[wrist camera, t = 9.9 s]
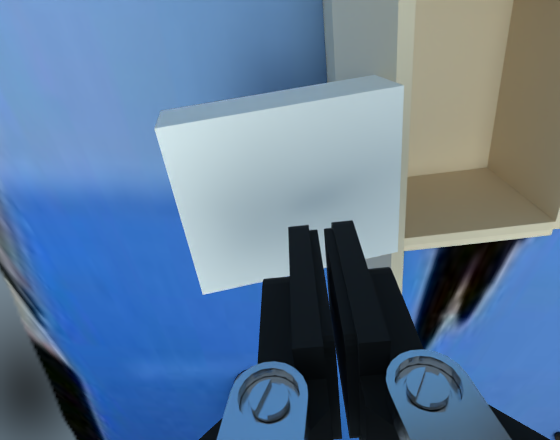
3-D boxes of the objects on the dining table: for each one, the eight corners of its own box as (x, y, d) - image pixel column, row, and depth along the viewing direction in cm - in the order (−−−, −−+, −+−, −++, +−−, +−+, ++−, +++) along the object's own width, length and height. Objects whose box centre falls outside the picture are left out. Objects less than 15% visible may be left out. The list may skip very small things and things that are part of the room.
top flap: (430, -94, 11) (101, -54, 10) (406, 327, 19) (225, 371, 18) (341, -55, 17) (139, -29, 17) (352, 245, 26) (217, 274, 25)
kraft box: (541, -94, 25) (683, -142, 16) (495, 176, 35) (569, 236, 26) (319, -61, 26) (342, -90, 17) (333, 195, 35) (353, 259, 27)
